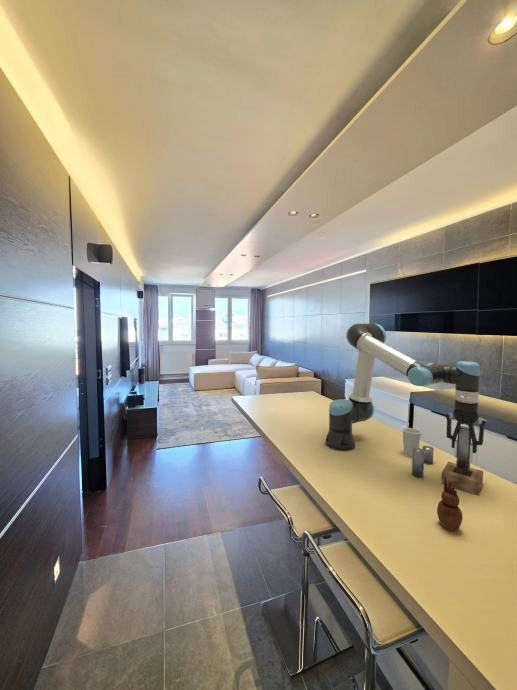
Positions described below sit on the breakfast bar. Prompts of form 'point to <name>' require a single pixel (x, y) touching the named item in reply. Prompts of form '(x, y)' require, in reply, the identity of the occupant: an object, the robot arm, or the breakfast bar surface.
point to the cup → (410, 440)
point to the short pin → (428, 454)
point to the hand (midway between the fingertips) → (463, 458)
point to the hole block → (463, 478)
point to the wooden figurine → (449, 508)
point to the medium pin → (418, 462)
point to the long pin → (463, 448)
